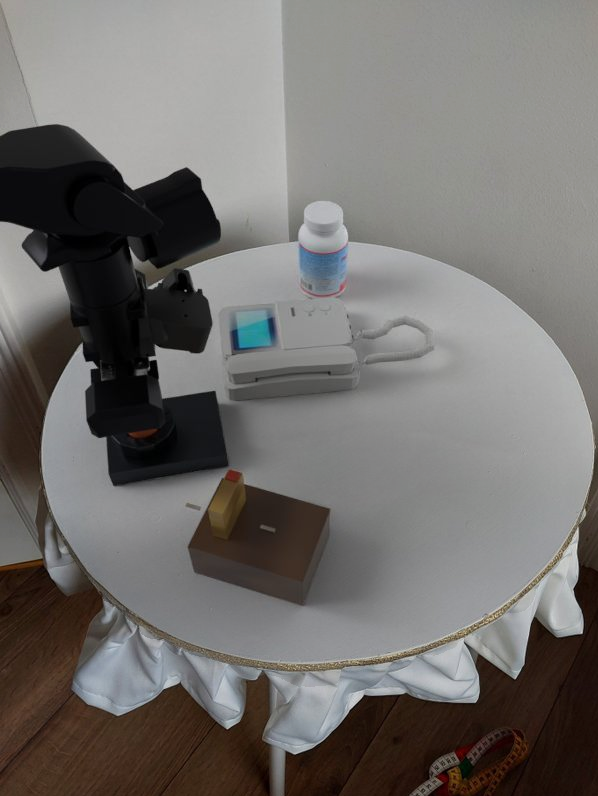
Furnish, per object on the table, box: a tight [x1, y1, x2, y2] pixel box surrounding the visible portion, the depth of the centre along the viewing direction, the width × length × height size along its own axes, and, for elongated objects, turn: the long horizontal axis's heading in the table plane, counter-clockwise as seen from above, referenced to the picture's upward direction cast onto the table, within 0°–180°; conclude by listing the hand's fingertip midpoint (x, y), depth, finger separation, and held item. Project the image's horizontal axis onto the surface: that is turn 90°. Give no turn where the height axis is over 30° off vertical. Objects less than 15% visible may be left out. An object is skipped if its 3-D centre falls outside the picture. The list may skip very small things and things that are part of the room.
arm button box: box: [105, 390, 230, 487], centre depth 77 cm, size 12×9×4 cm
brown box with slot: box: [185, 477, 332, 606], centre depth 69 cm, size 13×8×5 cm, turn 72°
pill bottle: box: [297, 200, 349, 299], centre depth 90 cm, size 6×6×11 cm
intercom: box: [217, 297, 435, 401], centre depth 85 cm, size 13×4×25 cm
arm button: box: [128, 429, 158, 438], centre depth 74 cm, size 4×4×2 cm
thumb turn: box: [208, 468, 246, 540], centre depth 65 cm, size 5×1×5 cm, turn 162°
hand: (137, 407), depth 73 cm, fingers closed
